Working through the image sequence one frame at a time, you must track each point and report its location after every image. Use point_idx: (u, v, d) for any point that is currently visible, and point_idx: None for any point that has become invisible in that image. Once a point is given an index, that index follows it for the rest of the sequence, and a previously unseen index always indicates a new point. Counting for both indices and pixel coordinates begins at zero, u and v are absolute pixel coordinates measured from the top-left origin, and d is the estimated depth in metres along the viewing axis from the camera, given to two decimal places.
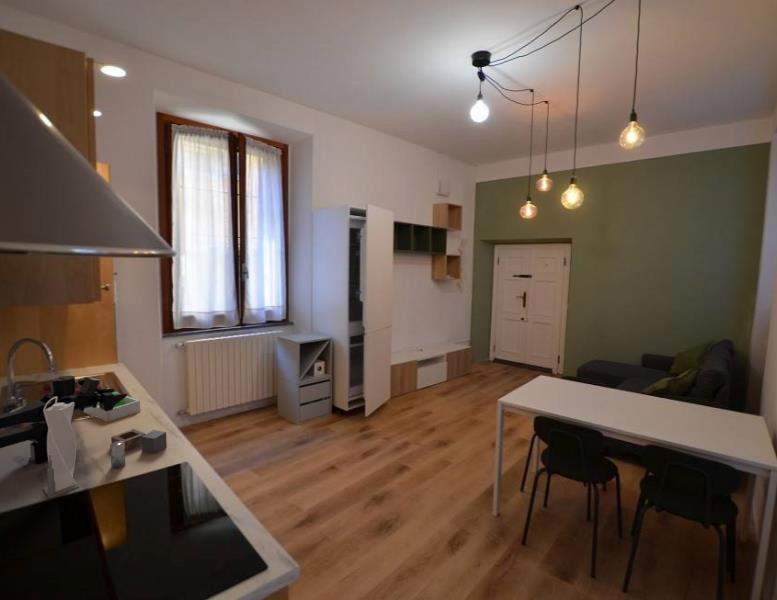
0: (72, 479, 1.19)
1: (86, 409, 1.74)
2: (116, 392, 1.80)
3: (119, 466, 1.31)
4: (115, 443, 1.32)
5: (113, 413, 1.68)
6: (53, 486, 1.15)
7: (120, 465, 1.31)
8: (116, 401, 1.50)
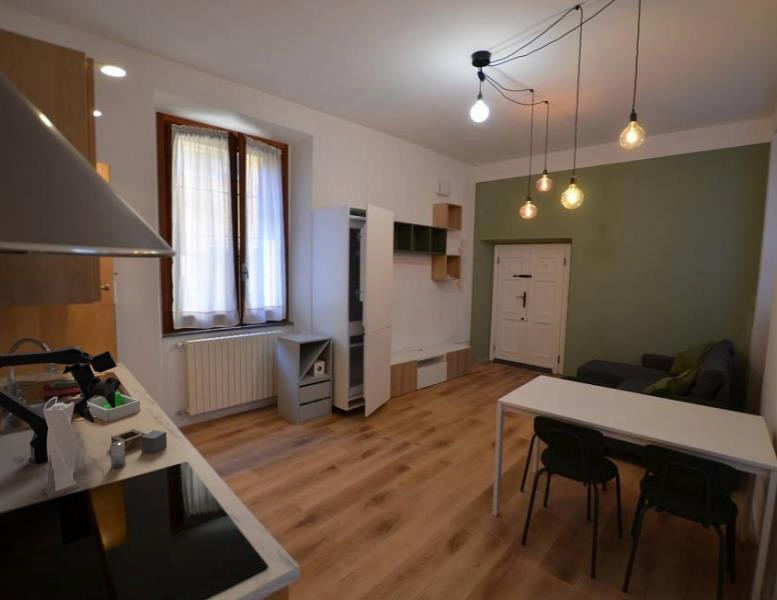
0: (72, 479, 1.19)
1: None
2: (118, 392, 1.80)
3: (119, 466, 1.31)
4: (115, 443, 1.32)
5: (113, 413, 1.68)
6: (53, 486, 1.15)
7: (120, 465, 1.31)
8: (81, 414, 1.38)
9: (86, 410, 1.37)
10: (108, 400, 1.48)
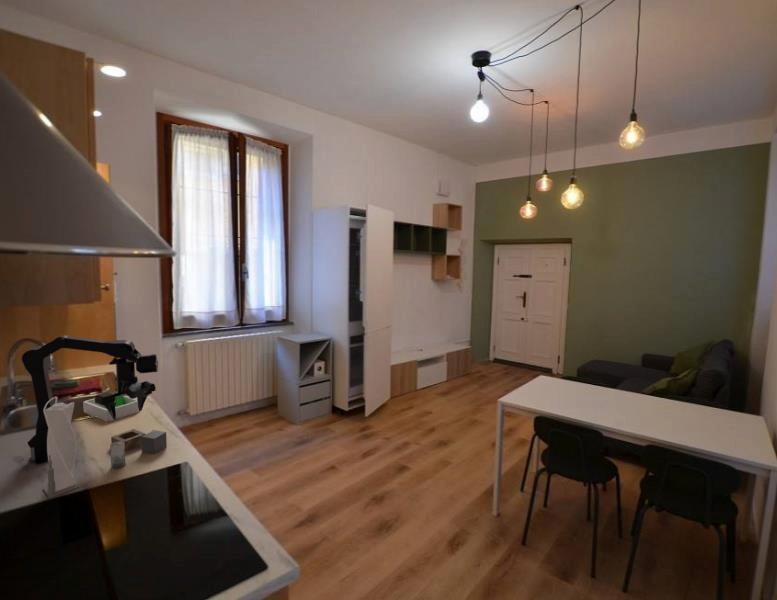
0: (72, 479, 1.19)
1: (86, 409, 1.74)
2: None
3: (119, 466, 1.31)
4: (115, 443, 1.32)
5: None
6: (53, 486, 1.15)
7: (120, 465, 1.31)
8: (107, 408, 1.40)
9: (112, 405, 1.38)
10: (138, 401, 1.49)
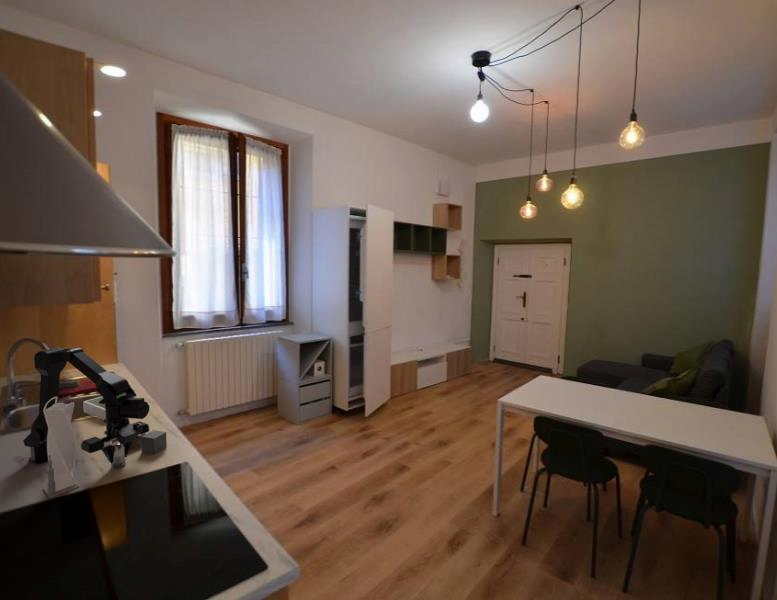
0: (72, 479, 1.19)
1: (86, 409, 1.74)
2: None
3: (119, 466, 1.31)
4: (115, 443, 1.32)
5: None
6: (53, 486, 1.15)
7: (120, 465, 1.31)
8: (104, 451, 1.29)
9: (108, 449, 1.27)
10: None
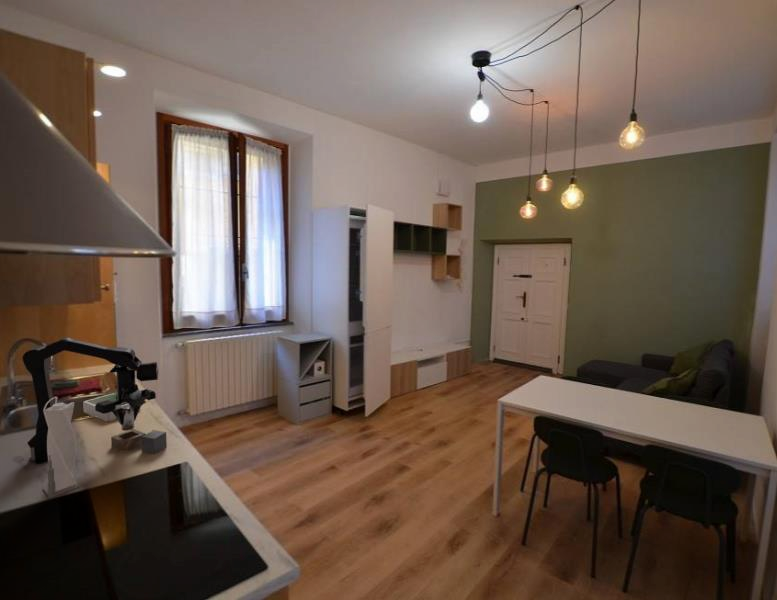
0: (72, 479, 1.19)
1: (86, 409, 1.74)
2: None
3: (129, 428, 1.44)
4: (125, 407, 1.45)
5: None
6: (53, 486, 1.15)
7: (130, 427, 1.44)
8: (115, 413, 1.43)
9: (119, 411, 1.41)
10: None
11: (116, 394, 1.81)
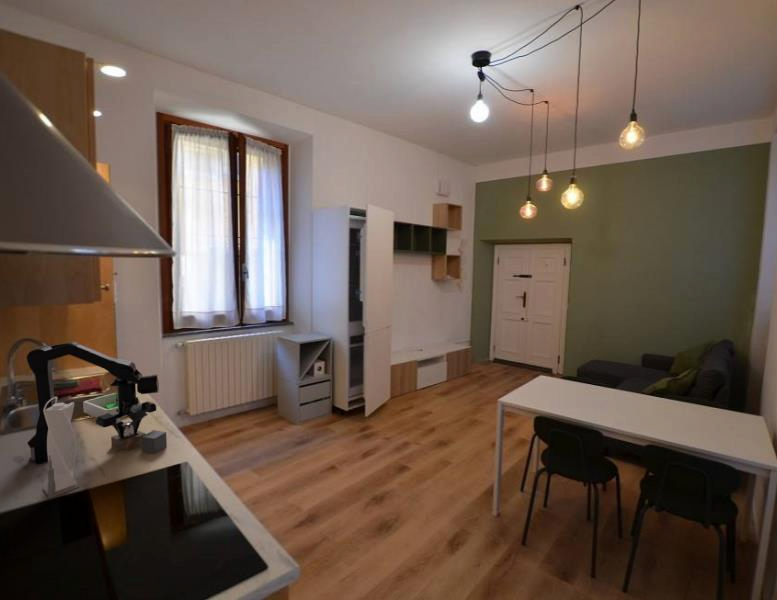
0: (72, 479, 1.19)
1: (86, 409, 1.74)
2: None
3: None
4: (125, 423, 1.46)
5: (113, 413, 1.68)
6: (53, 486, 1.15)
7: None
8: (115, 427, 1.43)
9: (119, 425, 1.41)
10: (133, 423, 1.48)
11: (116, 394, 1.81)
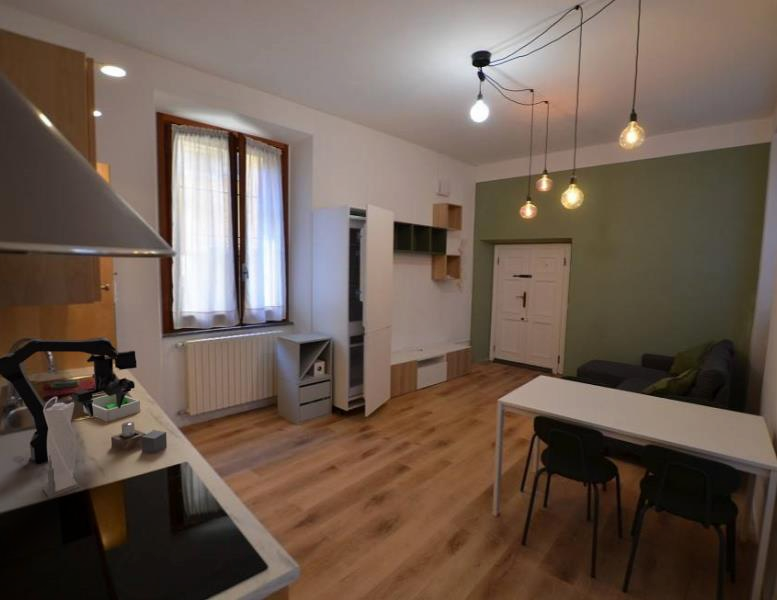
0: (72, 479, 1.19)
1: None
2: None
3: None
4: (126, 423, 1.46)
5: (113, 413, 1.68)
6: (53, 486, 1.15)
7: None
8: (85, 405, 1.40)
9: (88, 403, 1.38)
10: (117, 399, 1.49)
11: None
